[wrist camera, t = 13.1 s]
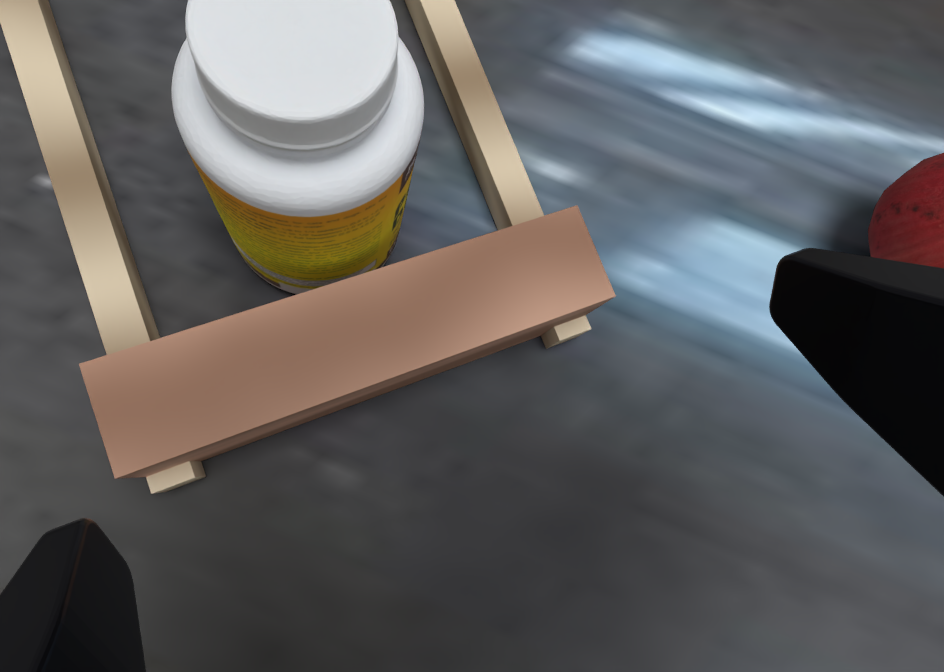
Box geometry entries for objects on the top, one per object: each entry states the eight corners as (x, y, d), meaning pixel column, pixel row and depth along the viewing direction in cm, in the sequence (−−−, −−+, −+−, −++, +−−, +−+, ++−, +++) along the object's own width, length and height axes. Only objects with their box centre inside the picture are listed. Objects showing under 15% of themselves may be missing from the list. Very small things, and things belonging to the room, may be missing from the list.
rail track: (575, 337, 23) (622, 311, 19) (165, 491, 19) (120, 498, 16) (399, -91, 25) (408, -192, 21) (0, -21, 21) (-75, -127, 18)
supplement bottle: (411, 289, 22) (464, 148, 12) (243, 312, 21) (151, 175, 11) (385, 140, 23) (414, -104, 13) (222, 153, 22) (119, -104, 12)
